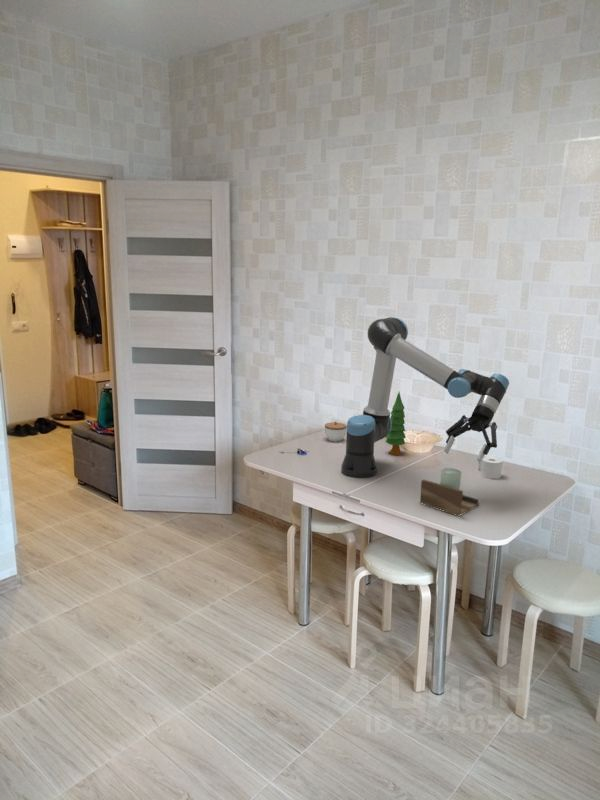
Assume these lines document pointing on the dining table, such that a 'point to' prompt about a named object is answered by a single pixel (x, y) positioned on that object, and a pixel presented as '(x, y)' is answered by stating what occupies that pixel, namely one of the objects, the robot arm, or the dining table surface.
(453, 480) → the canister
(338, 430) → the lidded jar
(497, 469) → the toilet paper
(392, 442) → the decorative tree
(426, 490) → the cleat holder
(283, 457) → the dining table surface
